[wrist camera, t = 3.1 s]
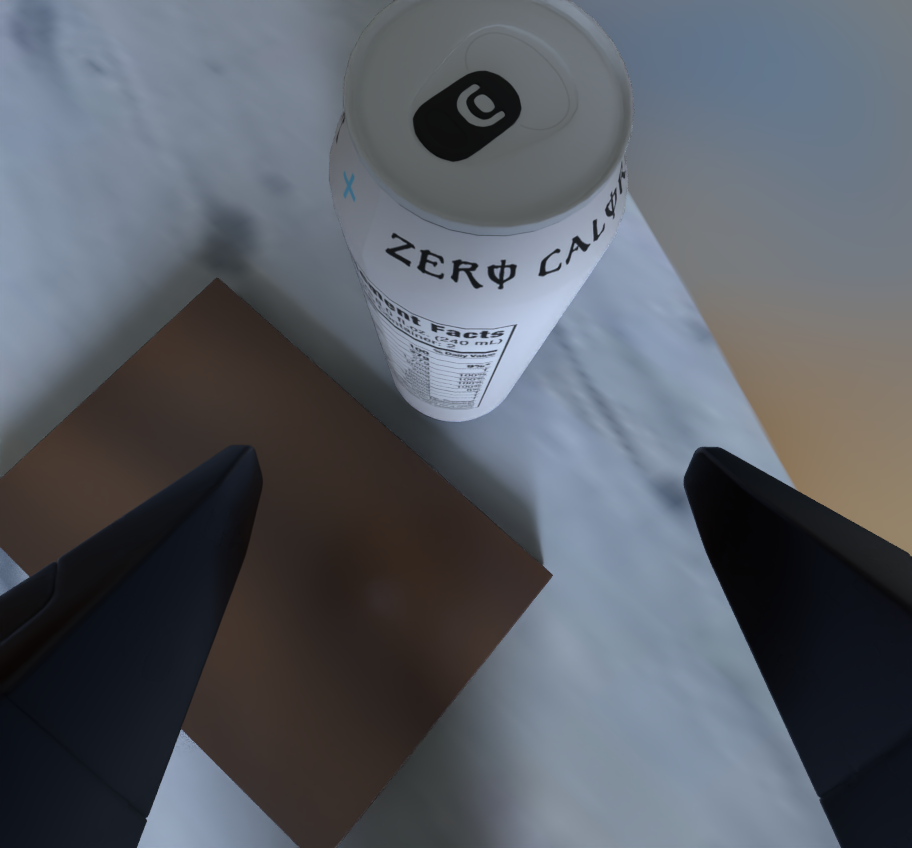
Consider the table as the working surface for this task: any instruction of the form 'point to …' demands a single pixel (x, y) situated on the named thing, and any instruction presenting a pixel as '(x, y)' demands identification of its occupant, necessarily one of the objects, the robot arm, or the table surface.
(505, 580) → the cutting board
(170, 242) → the table surface
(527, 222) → the energy drink can
